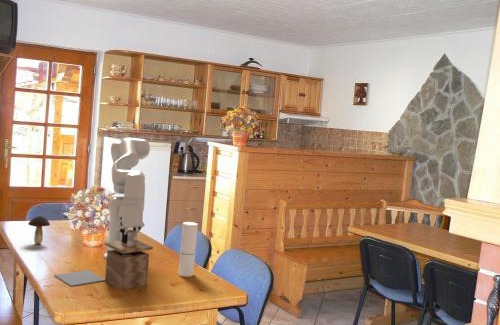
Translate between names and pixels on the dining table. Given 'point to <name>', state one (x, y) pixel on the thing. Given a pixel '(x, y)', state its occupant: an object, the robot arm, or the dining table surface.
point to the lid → (129, 244)
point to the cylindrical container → (188, 249)
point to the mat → (79, 278)
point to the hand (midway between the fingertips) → (129, 241)
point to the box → (126, 269)
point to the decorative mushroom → (39, 228)
